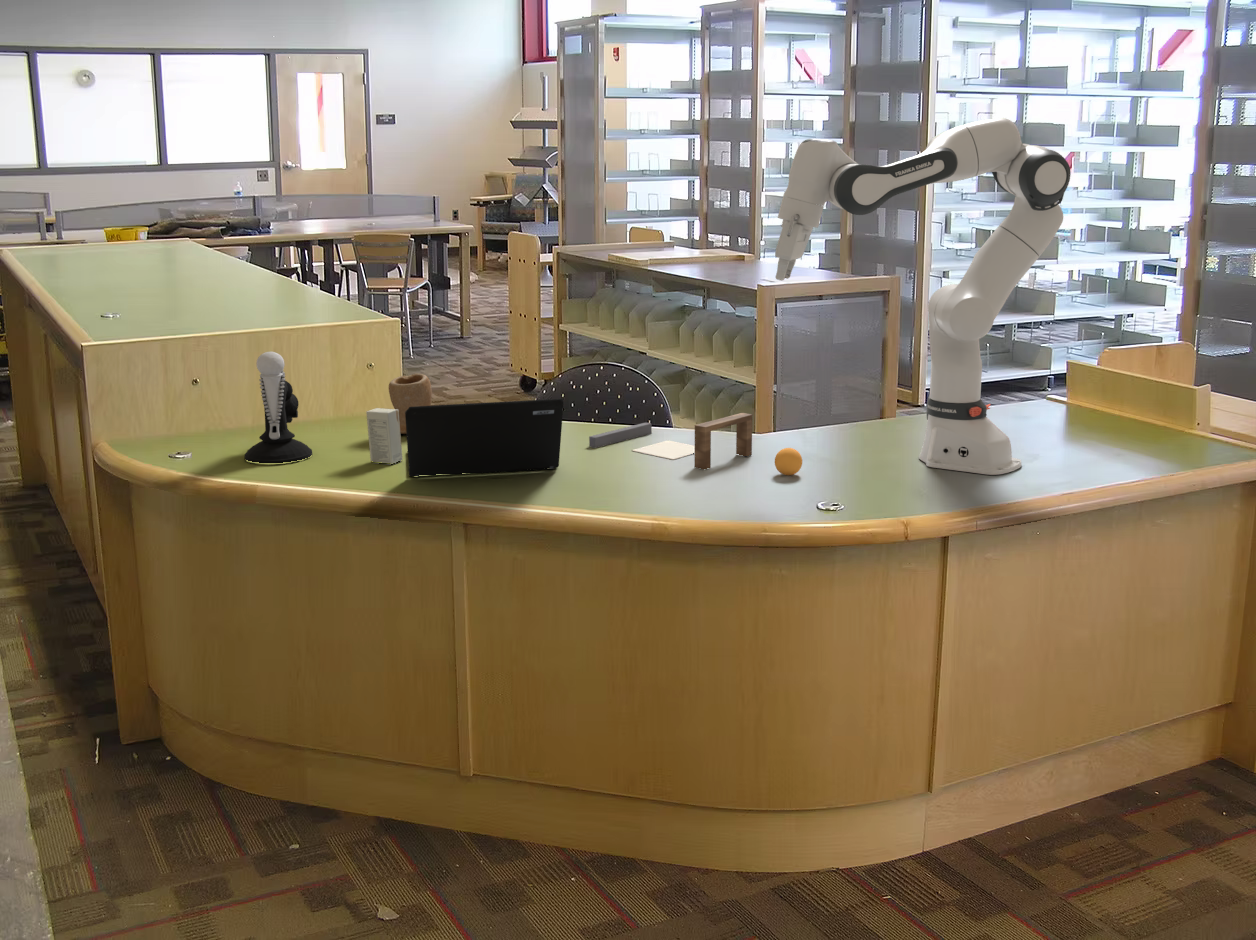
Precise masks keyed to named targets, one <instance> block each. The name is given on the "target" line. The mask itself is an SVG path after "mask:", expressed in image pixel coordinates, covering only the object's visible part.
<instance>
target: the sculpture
mask: <svg viewBox="0 0 1256 940" xmlns="http://www.w3.org/2000/svg"><path fill="white" fill-rule="evenodd" d="M256 369H257V371H259V373H260V374H259V382H260V383H259V385H260V386H259V388H260V389H261V390H260V393H261V395H260V396H261V400H262V402H263V403H262V405H263V409H264V425H265V429H264V432H263V433H262V434H261V435H259V440H261V441H259V442H257V443H255V444H254V445H252V446H251V447H250V448H249V449H247V451H246V453H244V460H245V459H246V460H248V461H252V462H259V463H283V462H291V461H297V460H302V459H305V458H308V457H310V456H311V455H312V456H313V449H312V448H310V447H309V446H308V445H307V444H305V443H303V441H299V440H298V439H294V438H295V433H293V432H292V431H290V430H289V428H288V424H291V423H292V421H293V419H298V417H299V411H298V408H299V400H298V397H297V396H296V395H295V394H294V392H293V386H292V384H291V383H290V382H288V381H287V380H286V372H285V371H284V369H285V359H284V358H283V356H282V355H281V354H280V353H277V352H275V351H266V352H263V353H261V354H260V355H259V356H258V358H257V359H256Z"/></svg>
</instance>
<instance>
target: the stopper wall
mask: <svg viewBox="0 0 1256 940" xmlns="http://www.w3.org/2000/svg"><path fill="white" fill-rule="evenodd" d="M652 425H653V424H652V423H650V422H645V421H644V422H642V423H638V424H634V425H629V426H626V427H622V428H619V429H615V430H610V431H605V432H601V433H598V434H593V435H590V436H589V437H588V439H589V443H588V445H589V448H595V449H596V448H600V447H604V446H608V445H613V444H616V443H620V442H624V441H627V440H632V439H634V438H635V439H636V438H639V437H642V436H648V435H651V434H652V431H653V430H652Z"/></svg>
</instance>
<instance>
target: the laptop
mask: <svg viewBox="0 0 1256 940" xmlns="http://www.w3.org/2000/svg"><path fill="white" fill-rule="evenodd" d="M563 412H564V398H550V399H530V400H513V401H512V400H511V401H510V400H509V401H495V402H494V401H493V402H476V403H475V402H473V403H455V404H453V403H452V404H437V405H435V404H434V405H431V406H415V407H409V408H408V409H407V410H406V411H405V419H406V434H405V435H406V445H407V448H406V449H407V458H408V476H409V475H410V476H409V477H411V476H419V475H436V474H461V475H463V474H462V473H481V474H490V473H489V472H495V473H511V472H513V471H514V472H524V471H525V472H527V471H541V470H555V469H556V468H558V467H559V465H560V454H561V442H562V441H561V440H562V431H563V430H562V428H563V417H564V415H563Z"/></svg>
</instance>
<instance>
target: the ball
mask: <svg viewBox="0 0 1256 940" xmlns="http://www.w3.org/2000/svg"><path fill="white" fill-rule="evenodd" d="M774 466H775V469H776V470H777V471H778V472H779V473H780V474H781V475H784V476H793V475H795V474H797V473H798V472H799V471H801V469H802V466H803V457H802V454H801V453H800V452H799V451H798V450H797V449H795V448H792V447H785V448H781V449H780V450H779V451H778V452H777V453H776V454H775V457H774Z"/></svg>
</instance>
